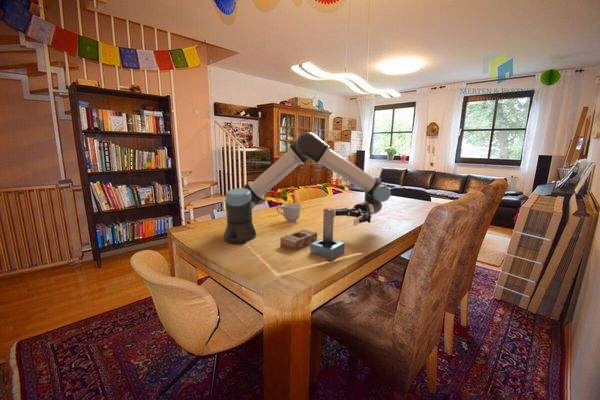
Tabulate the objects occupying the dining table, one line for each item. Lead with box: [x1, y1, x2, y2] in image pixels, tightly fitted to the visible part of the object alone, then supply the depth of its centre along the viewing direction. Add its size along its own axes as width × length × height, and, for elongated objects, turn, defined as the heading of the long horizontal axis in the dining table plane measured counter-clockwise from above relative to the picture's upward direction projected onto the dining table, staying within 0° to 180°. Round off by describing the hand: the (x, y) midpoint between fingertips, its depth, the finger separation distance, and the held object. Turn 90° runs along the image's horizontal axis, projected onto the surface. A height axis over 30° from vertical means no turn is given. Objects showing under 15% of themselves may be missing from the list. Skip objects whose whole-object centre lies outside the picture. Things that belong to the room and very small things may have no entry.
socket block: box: [309, 237, 346, 263], centre depth 105 cm, size 10×10×5 cm
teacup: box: [276, 202, 303, 224], centre depth 151 cm, size 12×15×10 cm
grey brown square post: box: [322, 208, 335, 247], centre depth 103 cm, size 4×4×18 cm
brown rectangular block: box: [279, 228, 318, 252], centre depth 114 cm, size 16×8×5 cm, turn 140°
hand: (340, 219), depth 109 cm, fingers open, 13 cm apart
